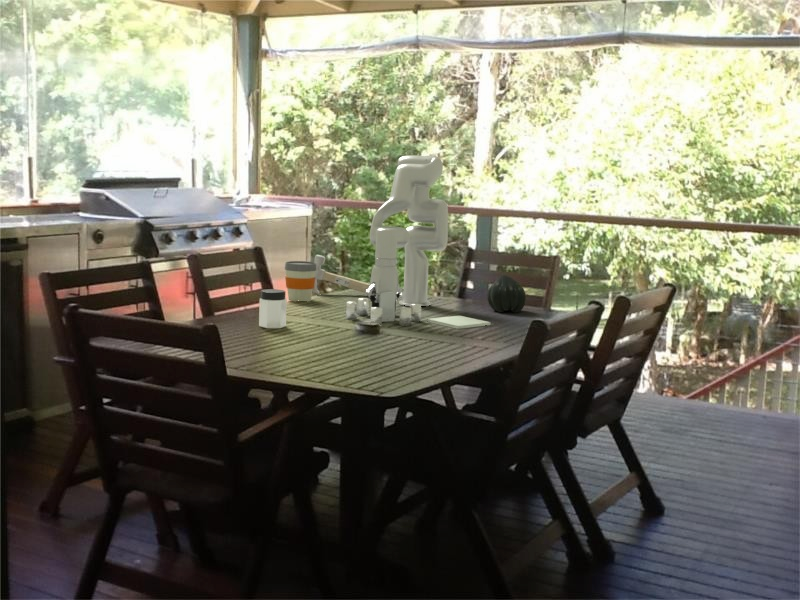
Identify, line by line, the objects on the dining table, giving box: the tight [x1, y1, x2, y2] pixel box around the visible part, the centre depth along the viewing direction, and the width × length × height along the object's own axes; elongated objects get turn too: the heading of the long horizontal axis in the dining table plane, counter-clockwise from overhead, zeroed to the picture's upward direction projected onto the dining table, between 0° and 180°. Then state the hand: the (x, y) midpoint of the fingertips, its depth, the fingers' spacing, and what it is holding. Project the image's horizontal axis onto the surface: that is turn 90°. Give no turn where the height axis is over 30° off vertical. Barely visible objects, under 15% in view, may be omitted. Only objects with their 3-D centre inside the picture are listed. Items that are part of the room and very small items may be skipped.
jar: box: [258, 288, 287, 329], centre depth 302 cm, size 9×8×12 cm
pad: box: [426, 315, 491, 330], centre depth 323 cm, size 16×16×1 cm
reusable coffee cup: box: [284, 260, 316, 302], centre depth 361 cm, size 12×13×15 cm
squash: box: [486, 274, 527, 313], centre depth 356 cm, size 14×15×15 cm
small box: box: [375, 292, 396, 323], centre depth 323 cm, size 8×6×10 cm
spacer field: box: [345, 297, 422, 327], centre depth 324 cm, size 28×22×6 cm
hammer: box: [313, 254, 373, 295], centre depth 381 cm, size 16×5×30 cm
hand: (383, 312), depth 324 cm, fingers open, 7 cm apart
